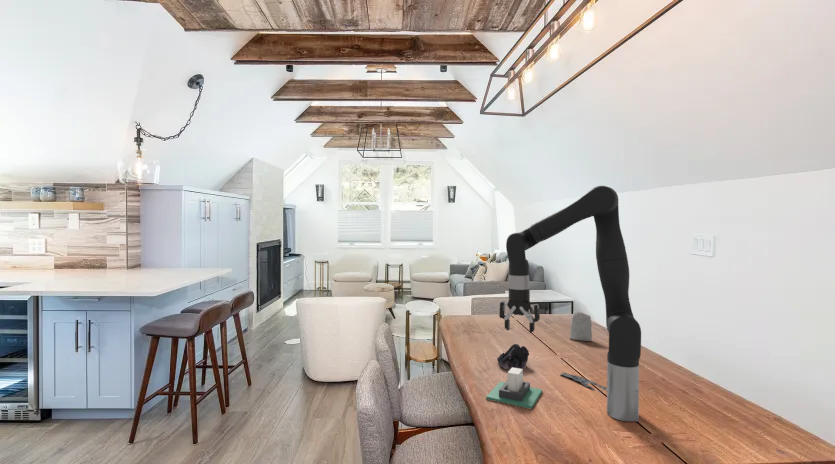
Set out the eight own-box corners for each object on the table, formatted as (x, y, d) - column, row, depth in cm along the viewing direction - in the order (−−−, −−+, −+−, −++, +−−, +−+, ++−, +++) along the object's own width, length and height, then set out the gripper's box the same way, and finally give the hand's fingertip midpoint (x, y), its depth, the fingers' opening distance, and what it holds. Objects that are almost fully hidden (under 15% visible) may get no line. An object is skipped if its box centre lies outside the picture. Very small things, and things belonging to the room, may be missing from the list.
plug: (522, 390, 151) (522, 369, 151) (517, 397, 145) (517, 375, 145) (512, 388, 153) (512, 367, 153) (506, 395, 147) (506, 373, 146)
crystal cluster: (492, 369, 178) (494, 347, 176) (500, 357, 190) (501, 337, 188) (524, 376, 172) (525, 354, 171) (530, 364, 184) (531, 343, 183)
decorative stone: (592, 340, 219) (592, 312, 219) (590, 342, 214) (590, 314, 214) (571, 337, 225) (571, 309, 224) (568, 339, 220) (569, 311, 219)
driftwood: (557, 375, 169) (557, 370, 169) (570, 373, 172) (570, 368, 172) (599, 396, 150) (599, 390, 150) (612, 392, 153) (612, 387, 153)
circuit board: (542, 392, 152) (542, 382, 152) (531, 409, 138) (531, 399, 138) (500, 383, 160) (500, 375, 160) (486, 399, 146) (486, 389, 146)
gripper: (541, 286, 150) (541, 331, 150) (503, 284, 156) (503, 326, 157) (536, 289, 143) (536, 336, 143) (496, 287, 150) (497, 331, 150)
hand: (519, 331), depth 150 cm, fingers open, 8 cm apart
